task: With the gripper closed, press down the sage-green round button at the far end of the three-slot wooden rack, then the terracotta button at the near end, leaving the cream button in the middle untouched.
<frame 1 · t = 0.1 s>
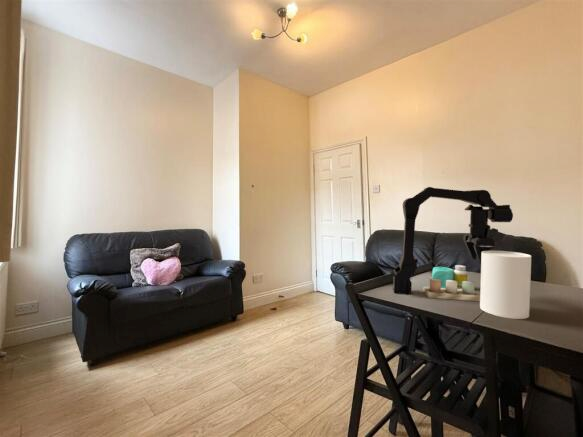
hand: (477, 261, 110), 14 cm above the table, fingers open, 9 cm apart
turquoise rounded piece: (442, 286, 126), on the table
button sage: (468, 287, 111), point 4 cm above the table, slide at 0.0 cm
button terracotta: (435, 285, 114), point 4 cm above the table, slide at 0.0 cm
three-slot wooden rack: (451, 295, 113), on the table
button cream: (451, 286, 113), point 4 cm above the table, slide at 0.0 cm
supplement bottle: (459, 288, 124), on the table
canister: (503, 311, 96), on the table
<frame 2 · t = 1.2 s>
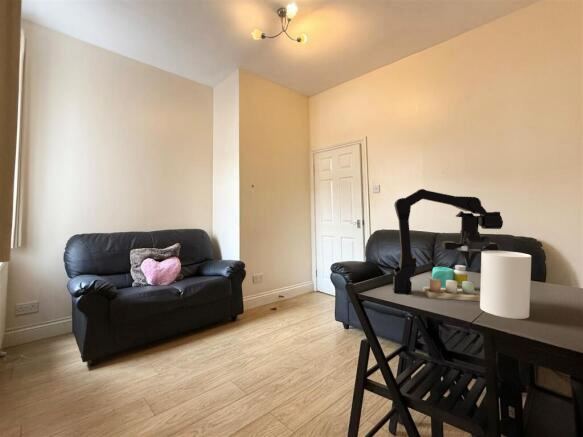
hand: (468, 267, 111), 12 cm above the table, fingers closed
nothing on the table moved.
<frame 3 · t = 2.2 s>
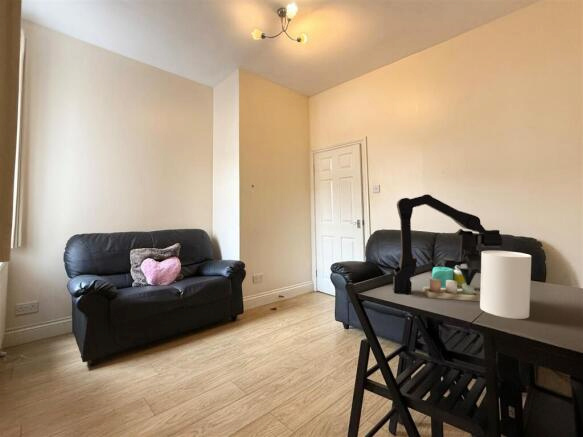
hand: (468, 285, 111), 5 cm above the table, fingers closed, pressing on button sage
button sage: (468, 289, 111), point 3 cm above the table, slide at 1.1 cm, touching gripper
everything else where it was.
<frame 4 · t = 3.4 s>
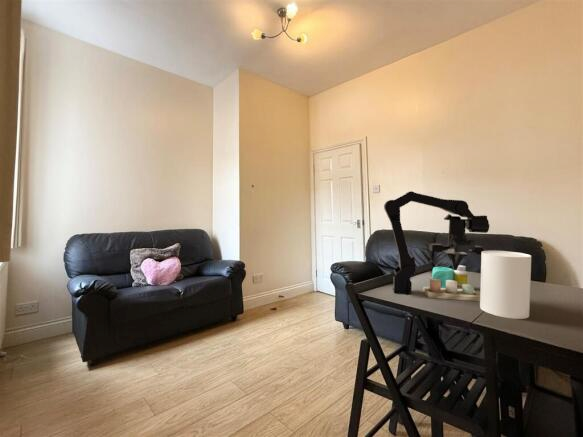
hand: (454, 270, 112), 10 cm above the table, fingers closed
button sage: (468, 290, 111), point 2 cm above the table, slide at 1.3 cm
everything else where it was.
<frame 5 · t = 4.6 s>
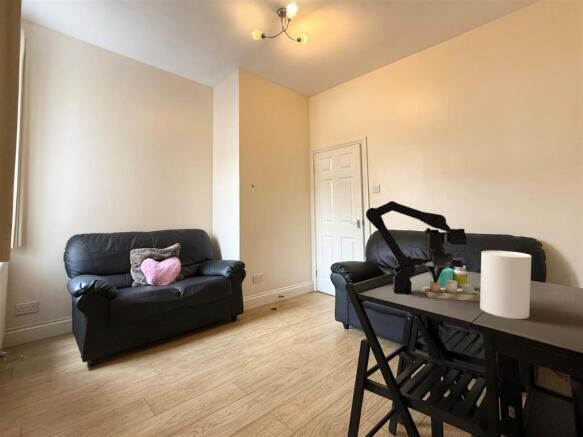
hand: (435, 282, 114), 5 cm above the table, fingers closed, pressing on button terracotta
button terracotta: (435, 287, 114), point 3 cm above the table, slide at 0.9 cm, touching gripper
everything else where it was.
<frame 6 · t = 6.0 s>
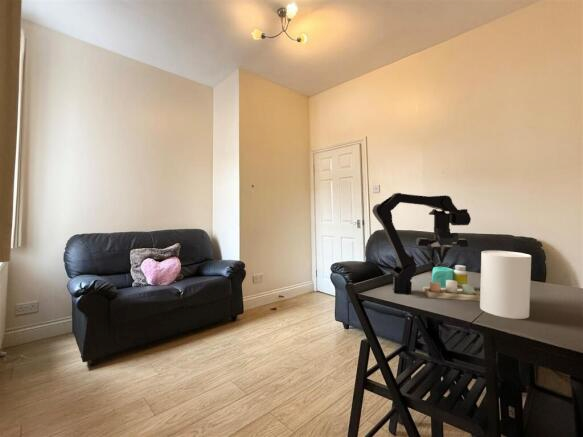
hand: (441, 262, 116), 13 cm above the table, fingers closed
button terracotta: (435, 288, 114), point 2 cm above the table, slide at 1.3 cm
everything else where it was.
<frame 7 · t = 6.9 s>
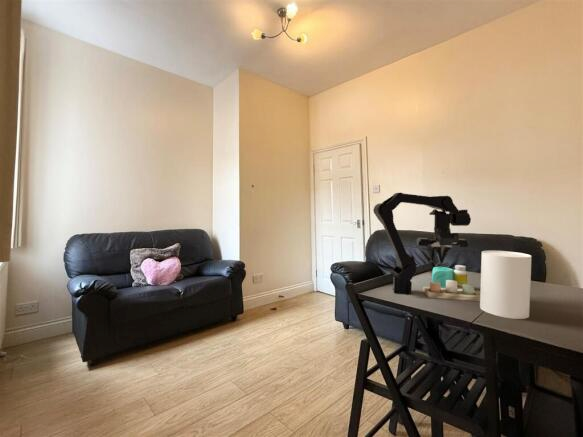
hand: (441, 262, 117), 12 cm above the table, fingers closed
nothing on the table moved.
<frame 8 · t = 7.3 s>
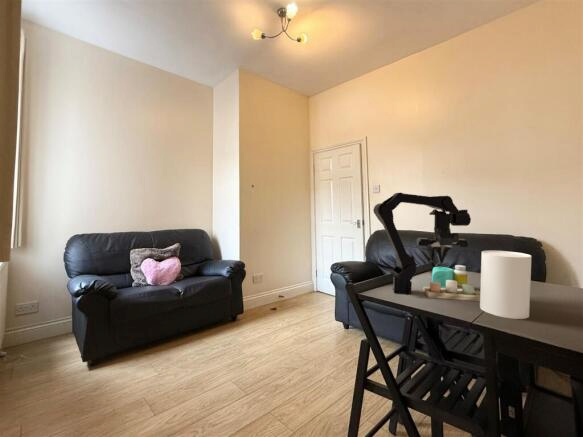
hand: (441, 262, 117), 12 cm above the table, fingers closed
nothing on the table moved.
at the end: button sage slide at 1.3 cm; button terracotta slide at 1.3 cm; button cream slide at 0.0 cm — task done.
